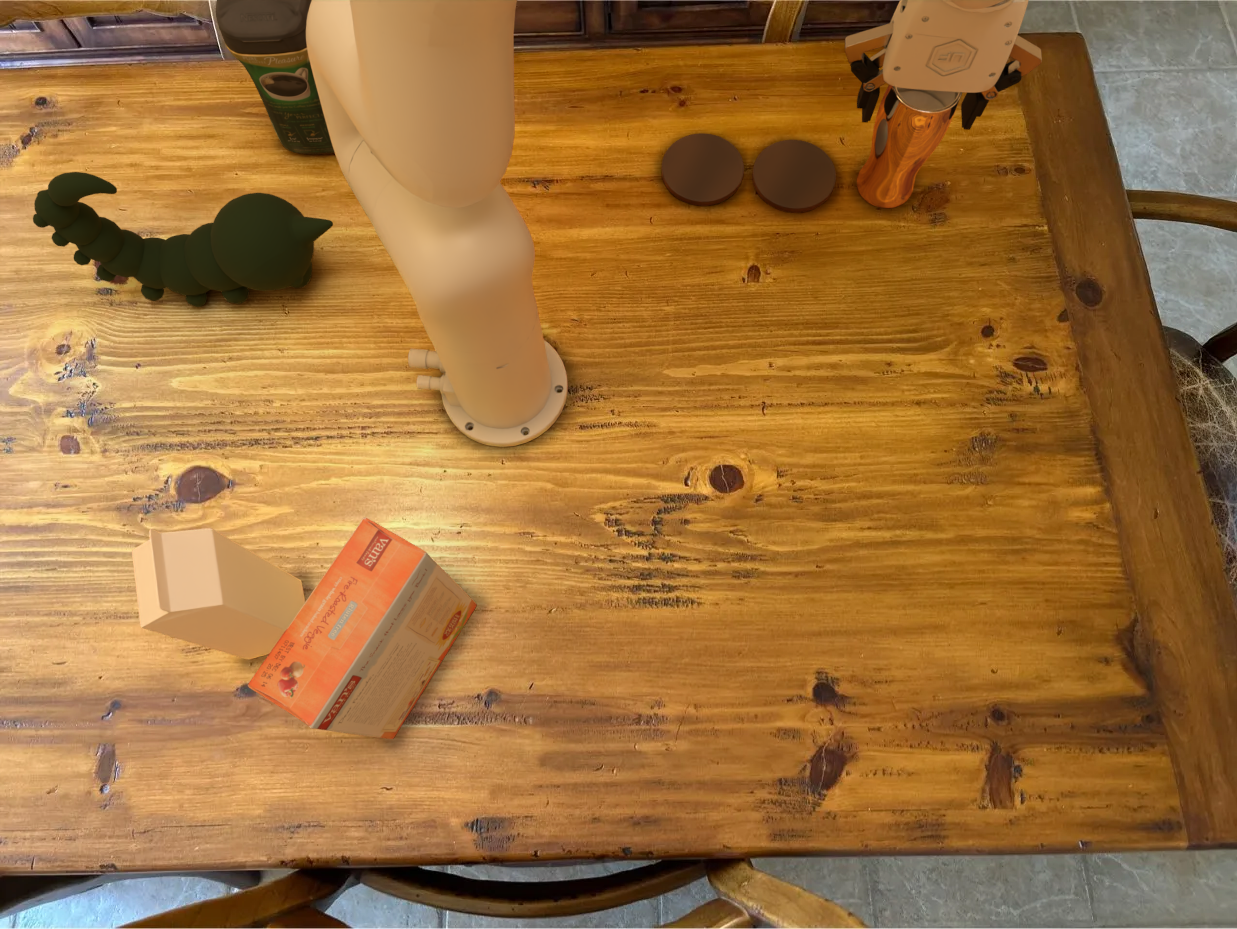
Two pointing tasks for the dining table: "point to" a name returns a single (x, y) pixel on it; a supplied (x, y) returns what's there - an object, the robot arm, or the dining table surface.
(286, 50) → the coffee jar
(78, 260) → the toy figurine
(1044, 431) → the dining table surface
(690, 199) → the coaster
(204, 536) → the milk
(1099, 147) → the dining table surface
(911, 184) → the wood grain tumbler
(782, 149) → the coaster
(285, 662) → the cracker box
